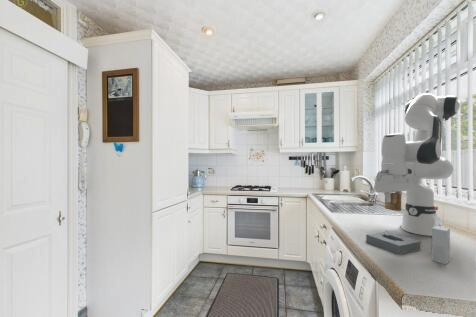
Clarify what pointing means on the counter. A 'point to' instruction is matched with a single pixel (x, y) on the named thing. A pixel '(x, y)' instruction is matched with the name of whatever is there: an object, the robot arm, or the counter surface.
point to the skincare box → (441, 244)
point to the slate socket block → (393, 242)
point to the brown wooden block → (394, 202)
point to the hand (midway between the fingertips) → (393, 201)
